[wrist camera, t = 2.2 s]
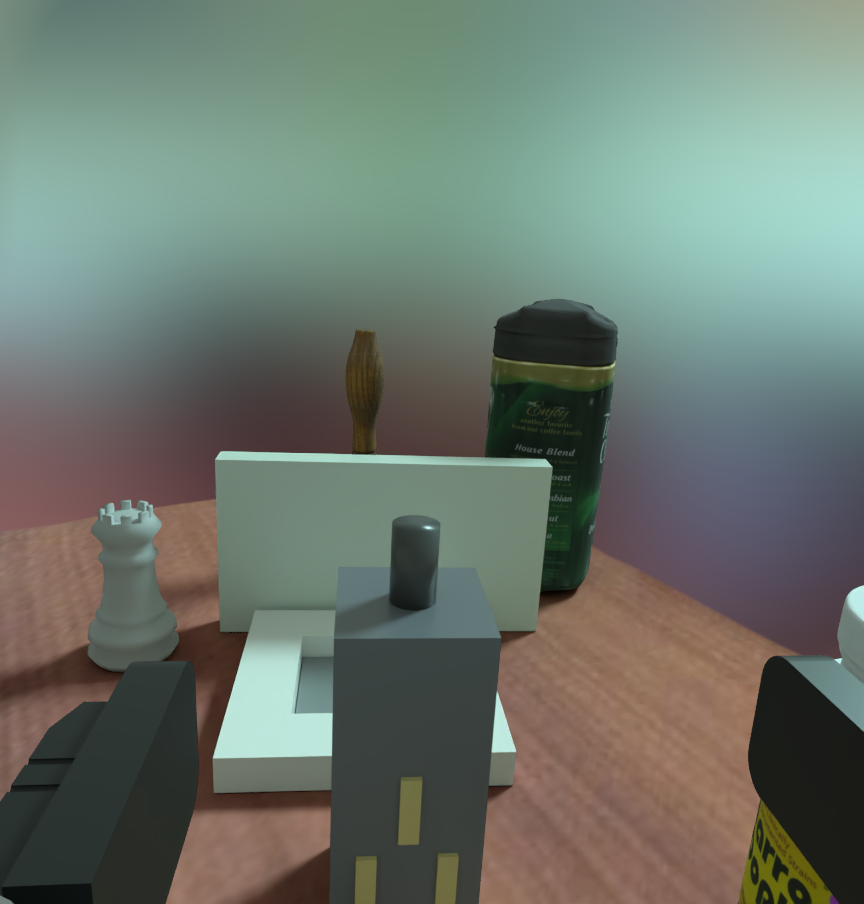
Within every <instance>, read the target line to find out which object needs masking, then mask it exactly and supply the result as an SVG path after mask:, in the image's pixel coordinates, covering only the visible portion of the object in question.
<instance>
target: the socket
mask: <svg viewBox="0 0 864 904" xmlns="http://www.w3.org/2000/svg"><path fill="white" fill-rule="evenodd" d="M552 468H553V467H552V466H551V465H550V464H549V463H548V461H547V460H546V459H522V458H479V457H478V458H477V457H437V456H394V455H353V454H351V455H350V454H310V453H266V452H225V451H223V452H222V451H221V452H220V453H219V455H218V456H217V458H216V459H215V470H216V506H217V542H218V577H219V612H220V632H249V633H248V637H247V640H246V644H245V647H244V651H243V654H242V658H241V661H240V665H239V668H238V672H237V675H236V679H235V682H234V686H233V689H232V693H231V696H230V700H229V703H228V707H227V710H226V714H225V717H224V721H223V724H222V728H221V731H220V735H219V738H218V742H217V745H216V749H215V752H214V756H213V784H214V793H235V792H272V791H310V790H331V774H332V717H333V659H334V628H335V612H336V596H337V580H338V567H390V563H391V538H392V521H393V520H394V519H396V518H398V517H401V516H406V515H421V516H427V517H431V518H434V519H436V520H437V521H439V522H440V525H441V526H440V543H439V560H438V567H445V568H476V570H477V573H478V576H479V579H480V581H481V584H482V587H483V589H484V592H485V595H486V597H487V600H488V603H489V606H490V608H491V611H492V614H493V616H494V619H495V622H496V625H497V627H498V630H499V631H536V627H537V617H538V607H539V597H540V587H541V577H542V567H543V557H544V548H545V538H546V528H547V518H548V508H549V498H550V488H551V478H552ZM301 668H302V669H301ZM300 675H301V676H300ZM298 690H299V691H298ZM297 697H298V698H297ZM296 705H297V706H296ZM295 712H296V713H295ZM515 759H516V750H515V747H514V743H513V740H512V737H511V734H510V731H509V727H508V724H507V721H506V718H505V715H504V712H503V708H502V705H501V702H500V699H499V696H498V693H497V695H496V707H495V719H494V730H493V742H492V753H491V765H490V776H489V786H497V785H513V780H514V770H515Z"/></svg>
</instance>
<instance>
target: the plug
mask: <svg viewBox="0 0 864 904" xmlns="http://www.w3.org/2000/svg"><path fill="white" fill-rule="evenodd" d="M440 526H441V525H440V522H439V521H437V520H436V519H434V518H431V517H427V516H421V515H406V516H401V517H398V518H396V519H394V520H393V521H392V538H391V563H390V567H338V580H337V596H336V612H335V628H334V659H333V717H332V774H331V832H330V890H329V904H479V892H480V881H481V869H482V858H483V846H484V834H485V823H486V811H487V800H488V788H489V776H490V765H491V753H492V742H493V730H494V719H495V707H496V695H497V684H498V672H499V661H500V649H501V635H500V633H499V630H498V627H497V625H496V622H495V619H494V616H493V614H492V611H491V608H490V606H489V603H488V600H487V597H486V595H485V592H484V589H483V587H482V584H481V581H480V579H479V576H478V573H477V570H476V568H445V567H438V560H439V543H440Z"/></svg>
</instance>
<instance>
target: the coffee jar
mask: <svg viewBox="0 0 864 904" xmlns="http://www.w3.org/2000/svg"><path fill="white" fill-rule="evenodd" d="M494 328H495V329H496V331H495V339H494V348H493V353H494V354H493V361H492V373H491V387H490V401H489V414H488V425H487V437H486V449H485V458H522V459H546V460H547V461H548V463H549V464H550V465H551V466H552V467H553V468H552V478H551V488H550V498H549V508H548V518H547V528H546V538H545V548H544V557H543V567H542V577H541V587H540V592H542V591H549V590H551V591H553V590H572V589H575V588H576V587H578V586H579V585H580V584H581V583H582V582H583V580H584V579H585V577H586V574H587V572H588V569H589V563H590V556H591V550H592V543H593V536H594V529H595V521H596V512H597V505H598V496H599V490H600V484H601V477H602V470H603V464H604V457H605V449H606V442H607V434H608V426H609V419H610V409H611V400H612V391H613V380H614V370H615V360H616V347H617V333H618V331H617V326H616V325H615V323H614V322H613V321H611V320H610V319H608V318H607V317H605V316H603V315H601V314H600V313H598V312H596V311H595V310H594V308H593V307H592V306H590V305H587V304H583V303H579V302H575V301H571V300H565V299H551V300H544V301H536V302H535V303H534V304H532V305H528V306H524V307H522V308H521V309H520V310H517V311H515V312H512V313H509V314H507V315H504V316H502V317H500V318H499V319H498V321H497V325H496V326H495V327H494Z"/></svg>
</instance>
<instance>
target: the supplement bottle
mask: <svg viewBox="0 0 864 904" xmlns="http://www.w3.org/2000/svg"><path fill="white" fill-rule="evenodd" d="M837 636H838V641H839V644H840V645H839V648H840V652H841V655H842V658H841V659H835V661H837V662H838V663H839V664H840V665H841V666H843V667H844V668H845V669H846V670H847V671H849V672H850V673H851V674H852V675H853V676H855V677H856V678H857V679H858V680H859V681H861V682H862V683H863V684H864V586H861V587H858V588H857V589H854V590H852V591H851V592H850V593H849V594H848V596H847V598H846V600H845V603H844V607H843V611H842V615H841V620H840V624H839V628H838V635H837ZM738 904H839V903H838V901H837V900H836V899H835V897H834V896H833V895H832V893H831V892H830V891H829V889H828V888H827V887H826V885H825V884H824V883H823V881H822V880H821V879H820V877H819V876H818V875H817V873H816V872H815V871H814V869H813V868H812V867H811V865H810V864H809V863H808V861H807V860H806V859H805V857H804V856H803V855H802V853H801V852H800V851H799V849H798V848H797V847H796V845H795V844H794V843H793V841H792V840H791V839H790V837H789V836H788V835H787V833H786V832H785V831H784V829H783V828H782V827H781V825H780V824H779V823H778V821H777V820H776V818H775V817H774V816H773V814H772V813H771V812H770V810H769V809H768V808H767V806H766V805H765V804H764V802H763V801H762V800H761V799H760V804H759V808H758V813H757V818H756V822H755V826H754V831H753V835H752V840H751V845H750V850H749V854H748V858H747V862H746V867H745V872H744V877H743V881H742V886H741V890H740V896H739V900H738Z"/></svg>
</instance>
